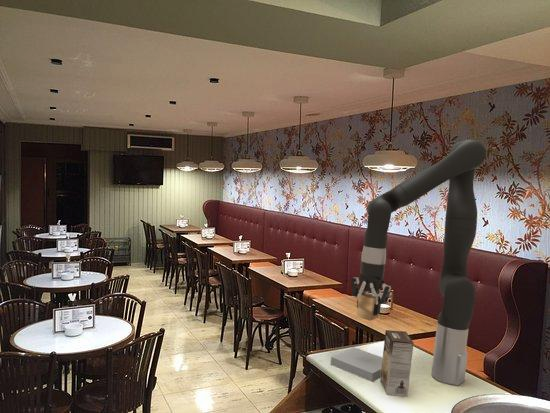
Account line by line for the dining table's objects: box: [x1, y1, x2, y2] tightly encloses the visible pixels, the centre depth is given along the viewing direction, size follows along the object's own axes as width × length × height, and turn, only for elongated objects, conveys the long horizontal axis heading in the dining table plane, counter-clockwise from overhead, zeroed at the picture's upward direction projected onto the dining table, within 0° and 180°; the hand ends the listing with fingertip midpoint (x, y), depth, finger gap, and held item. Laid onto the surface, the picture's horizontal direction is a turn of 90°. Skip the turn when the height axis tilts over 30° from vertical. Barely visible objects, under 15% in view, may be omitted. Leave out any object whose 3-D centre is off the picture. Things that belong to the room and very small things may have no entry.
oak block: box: [356, 292, 379, 322], centre depth 143 cm, size 5×5×7 cm
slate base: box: [330, 346, 383, 382], centre depth 145 cm, size 15×14×2 cm
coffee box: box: [379, 329, 415, 397], centre depth 130 cm, size 9×6×16 cm
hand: (367, 312), depth 143 cm, fingers closed on oak block, 5 cm apart
